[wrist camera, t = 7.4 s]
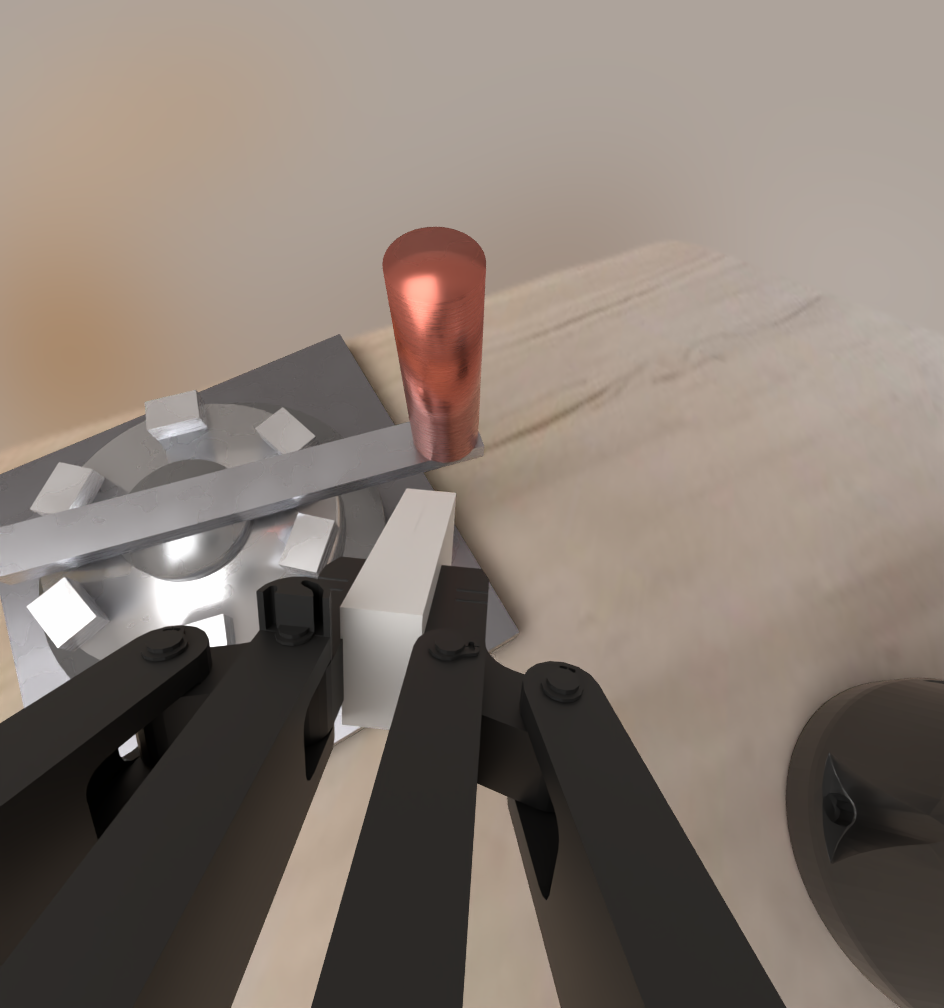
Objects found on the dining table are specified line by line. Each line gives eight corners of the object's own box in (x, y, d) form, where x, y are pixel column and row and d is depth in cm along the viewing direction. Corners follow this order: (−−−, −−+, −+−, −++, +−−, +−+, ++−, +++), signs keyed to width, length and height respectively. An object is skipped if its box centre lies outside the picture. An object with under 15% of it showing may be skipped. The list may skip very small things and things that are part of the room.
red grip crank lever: (65, 723, 23) (-445, 716, 10) (65, 464, 29) (-269, 241, 16) (516, 583, 26) (568, 438, 13) (440, 371, 32) (423, 119, 19)
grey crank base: (344, 348, 38) (332, 310, 34) (517, 636, 29) (523, 624, 26) (-3, 494, 32) (-58, 467, 29) (88, 893, 24) (26, 920, 21)
